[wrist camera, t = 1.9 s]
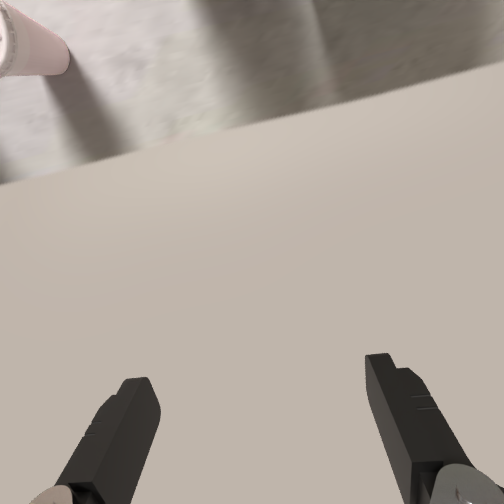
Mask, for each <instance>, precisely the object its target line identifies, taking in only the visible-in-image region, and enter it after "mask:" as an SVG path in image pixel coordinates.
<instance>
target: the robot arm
mask: <svg viewBox="0 0 504 504" xmlns="http://www.w3.org/2000/svg"><path fill="white" fill-rule="evenodd" d="M365 369H366V370H365V372H366V390H367V396H368V400H369V404H370V407H371V410H372V413H373V415H374V418H375V421H376V424H377V427H378V429H379V433H380V436H381V438H382V441H383V444H384V447H385V450H386V452H387V456H388V458H389V461H390V464H391V467H392V470H393V473H394V475H395V478H396V481H397V484H398V487H399V490H400V493H401V495H402V498H403V501H404V504H504V488H503V487H500V486H499V485H497V484H495V483H494V482H493V481H492V480H491V479H490V478H489V477H488V476H486V475H485V474H483V473H482V472H480V471H479V470H477V469H476V468H475V467H474V466H473V465H472V463H471V462H470V460H469V459H468V457H467V456H466V454H465V453H464V451H463V449H462V447H461V446H460V444H459V442H458V440H457V439H456V437H455V435H454V433H453V432H452V430H451V428H450V427H449V425H448V423H447V422H446V420H445V418H444V416H443V415H442V413H441V411H440V410H439V409H438V406H437V404H436V403H435V401H434V399H433V398H432V397H431V395H430V392H429V391H428V389H427V387H426V385H425V384H424V382H423V380H422V379H421V378H420V377H419V376H417V375H416V374H415V373H414V372H413V371H412V370H410V369H409V368H396V367H395V364H394V362H393V360H392V358H391V356H390V355H389V354H388V353H382V354H371V355H366V356H365ZM160 415H161V409H160V405H159V402H158V399H157V397H156V395H155V392H154V390H153V388H152V385H151V383H150V381H149V379H148V378H147V377H141V378H131V379H126V380H125V381H124V382H123V383H122V385H121V387H120V389H119V391H118V392H117V394H116V395H112V396H111V397H110V398H109V399H108V400H107V401H106V402H105V403H104V404H103V405H102V406H101V407H100V408H99V410H98V411H97V413H96V415H95V417H94V418H93V420H92V424H91V425H89V427H88V429H87V431H86V432H85V436H84V437H82V439H81V441H80V442H79V444H78V446H77V448H76V449H75V451H74V453H73V455H72V456H71V458H70V460H69V461H68V463H67V465H66V467H65V468H64V470H63V472H62V473H61V475H60V477H59V479H58V480H57V482H56V484H55V485H54V486H53V487H51V488H49V489H47V490H45V491H44V492H42V493H41V494H39V495H38V496H37V497H36V498H35V499H34V500H33V501H32V502H31V503H30V504H130V503H131V500H132V498H133V495H134V492H135V489H136V486H137V484H138V480H139V478H140V475H141V472H142V470H143V467H144V464H145V461H146V458H147V456H148V453H149V450H150V447H151V445H152V442H153V439H154V436H155V433H156V430H157V428H158V425H159V422H160Z"/></svg>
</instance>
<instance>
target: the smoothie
mask: <svg viewBox="0 0 504 504" xmlns="http://www.w3.org/2000/svg"><path fill="white" fill-rule="evenodd" d="M69 62H70V55H69V51H68V48H67V46H66V44H65V42H64V41H63V40H62V39H61V38H60V37H59V36H58V35H57V34H55V33H54V32H52V31H50V30H49V29H47V28H46V27H44V26H43V25H41V24H39V23H38V22H36V21H35V20H33V19H32V18H30V17H28V16H27V15H25V14H24V13H22V12H21V11H19V10H17V9H16V8H14V7H13V6H11V5H9V4H8V3H6V2H5V1H3V0H0V78H2V77H4V76H30V75H60V74H62V73H64V72H65V71H66V70H67V68H68V66H69Z"/></svg>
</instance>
